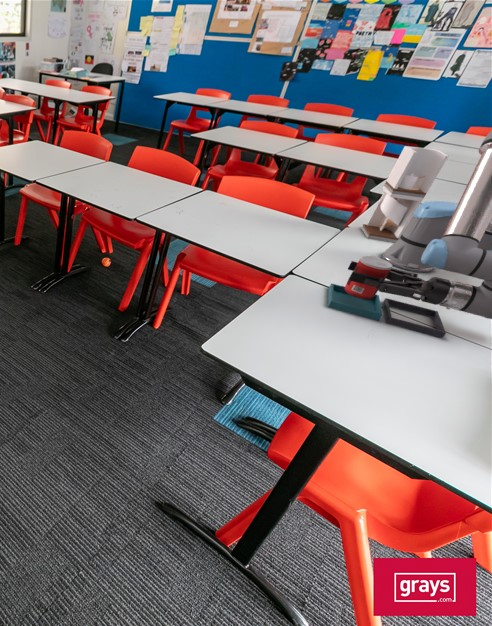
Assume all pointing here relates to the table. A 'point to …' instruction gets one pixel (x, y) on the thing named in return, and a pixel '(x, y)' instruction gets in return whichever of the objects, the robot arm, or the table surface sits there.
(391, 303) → the tray
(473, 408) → the table surface
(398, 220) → the white tiered tower
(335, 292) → the tray
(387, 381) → the table surface
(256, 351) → the table surface
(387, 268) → the canned food
